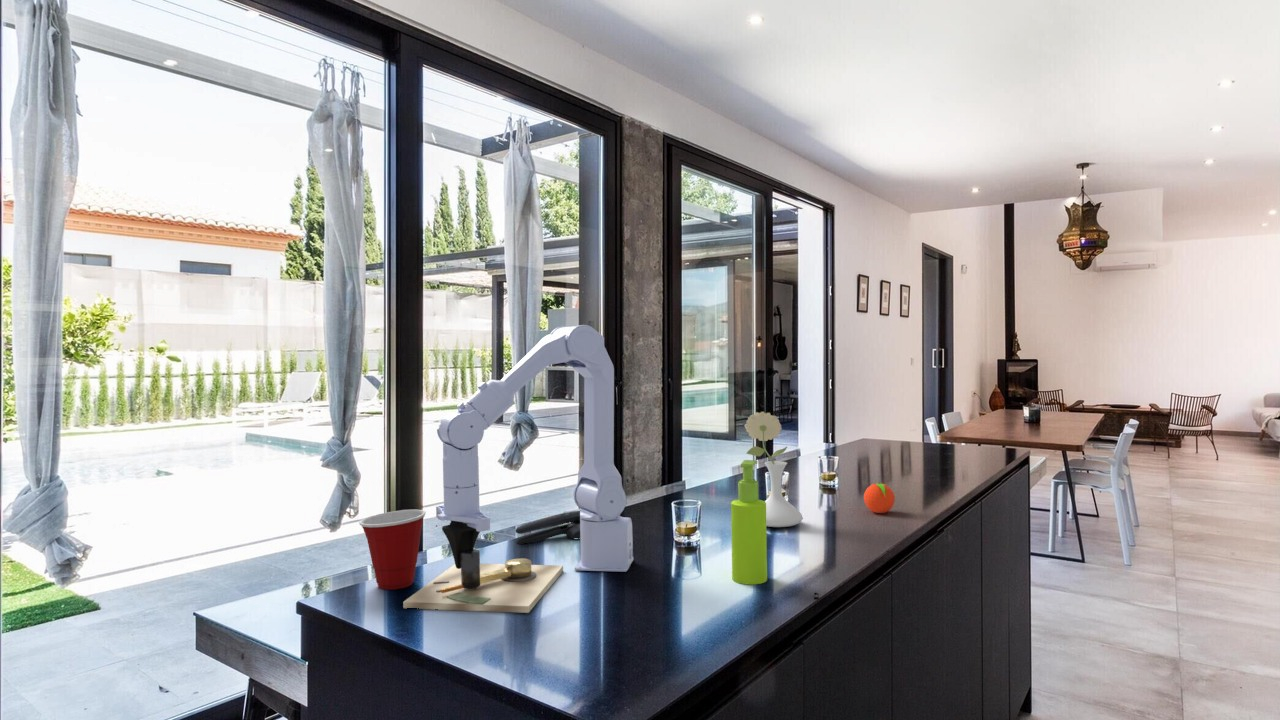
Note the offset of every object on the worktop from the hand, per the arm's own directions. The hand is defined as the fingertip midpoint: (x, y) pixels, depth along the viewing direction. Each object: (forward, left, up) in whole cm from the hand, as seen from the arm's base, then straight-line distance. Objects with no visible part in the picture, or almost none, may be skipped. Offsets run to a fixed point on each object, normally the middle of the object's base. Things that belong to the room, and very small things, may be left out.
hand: (463, 567), depth 123 cm
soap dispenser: (-47, -11, -4) cm, 48 cm away
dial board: (-4, -2, -4) cm, 6 cm away
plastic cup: (+13, -2, -4) cm, 14 cm away
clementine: (-77, -63, -4) cm, 99 cm away
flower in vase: (-52, -50, -4) cm, 72 cm away
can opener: (-7, -35, -4) cm, 36 cm away
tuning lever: (-4, -1, -2) cm, 5 cm away
